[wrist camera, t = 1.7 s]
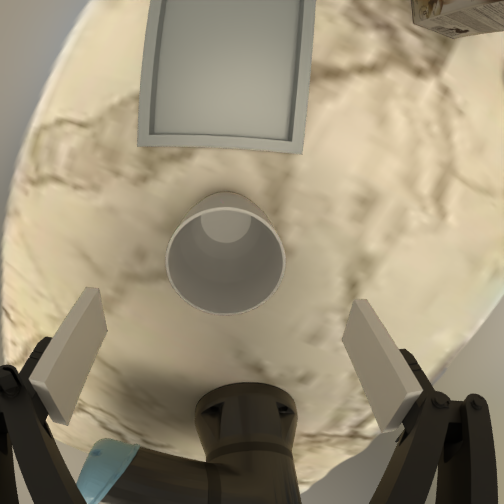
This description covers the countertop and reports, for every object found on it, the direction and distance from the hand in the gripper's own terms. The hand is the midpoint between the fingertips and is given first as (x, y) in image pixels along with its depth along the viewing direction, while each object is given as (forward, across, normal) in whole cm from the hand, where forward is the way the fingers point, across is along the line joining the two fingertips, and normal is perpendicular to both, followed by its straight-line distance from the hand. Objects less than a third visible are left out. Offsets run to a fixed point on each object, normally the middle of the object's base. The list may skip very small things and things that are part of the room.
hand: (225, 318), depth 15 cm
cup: (+16, 0, 0) cm, 16 cm away
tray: (+16, +1, -16) cm, 23 cm away
